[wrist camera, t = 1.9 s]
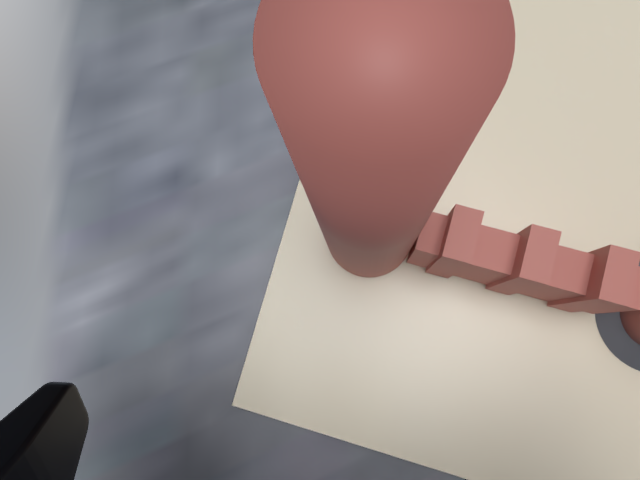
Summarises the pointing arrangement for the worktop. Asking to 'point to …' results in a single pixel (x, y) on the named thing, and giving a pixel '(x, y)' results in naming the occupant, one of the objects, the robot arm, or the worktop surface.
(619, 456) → the card
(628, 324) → the fixed fence panel
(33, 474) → the robot arm
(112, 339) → the worktop surface
